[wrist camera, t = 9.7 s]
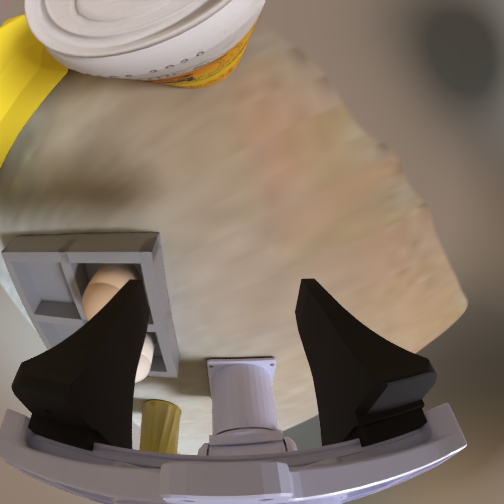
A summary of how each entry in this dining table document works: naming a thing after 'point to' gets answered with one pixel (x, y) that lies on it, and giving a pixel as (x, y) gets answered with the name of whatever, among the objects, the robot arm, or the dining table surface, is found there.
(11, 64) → the yellow banana
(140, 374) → the cream egg
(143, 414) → the vase
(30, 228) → the dining table surface
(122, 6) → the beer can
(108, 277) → the brown egg
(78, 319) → the gray compartment tray
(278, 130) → the dining table surface
